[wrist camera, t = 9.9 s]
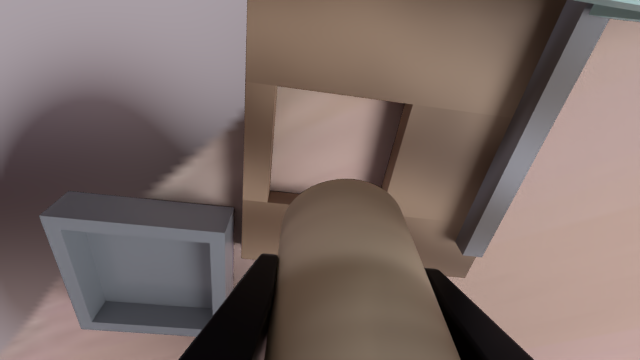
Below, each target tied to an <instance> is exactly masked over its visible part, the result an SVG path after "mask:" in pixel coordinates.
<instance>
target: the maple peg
mask: <svg viewBox="0 0 640 360" xmlns="http://www.w3.org/2000/svg"><path fill="white" fill-rule="evenodd" d="M264 360H461V359H460V357H459V354H458V352H457V349H456V347H455V344H454V342H453V339H452V337H451V334H450V332H449V329H448V327H447V324H446V322H445V319H444V317H443V314H442V312H441V309H440V307H439V304H438V302H437V299H436V297H435V294H434V292H433V289H432V286H431V284H430V281H429V279H428V276H427V274H426V271H425V269H424V266H423V264H422V261H421V259H420V256H419V254H418V251H417V249H416V246H415V244H414V241H413V239H412V236H411V234H410V231H409V229H408V226H407V224H406V221H405V219H404V216H403V214H402V211H401V209H400V207H399V205H398V203H397V202H396V200H395V199H394V198H393V197H392V196H391V195H390V194H389V193H388V192H386V191H385V190H383V189H382V188H380V187H378V186H376V185H374V184H372V183H369V182H365V181H361V180H355V179H336V180H330V181H326V182H323V183H319V184H317V185H315V186H312V187H310V188H309V189H307V190H305V191H304V192H302V193H301V194H300V195H298V196H297V197H296V198H295V199H294V200H293V201H292V203H291V204H290V205H289V206H288V208H287V210H286V212H285V214H284V217H283V220H282V225H281V233H280V240H279V248H278V263H277V271H276V279H275V287H274V295H273V303H272V309H271V315H270V321H269V327H268V334H267V342H266V350H265V357H264Z"/></svg>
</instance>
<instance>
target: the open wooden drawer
mask: <svg viewBox="0 0 640 360" xmlns="http://www.w3.org/2000/svg"><path fill="white" fill-rule="evenodd" d="M593 5H594V4H592V3H586V2H580V1H575V0H247V36H246V79H245V82H246V83H245V120H244V163H243V205H242V247H241V258H243V259H255V260H257V258H258V257H259V256H260V255H261V254H263V253H266V254H276V255H277V256H278V248H279V240H280V233H281V225H282V220H283V217H284V214H285V212H286V210H287V208H288V206H289V205H290V204H291V203H292V201H293V200H294V199H295V198H296V197H297V196H298V195H300V194H294V193H284V192H275V191H270V180H271V166H272V153H273V139H274V126H275V112H276V99H277V86H280V87H288V88H295V89H303V90H310V91H317V92H325V93H332V94H339V95H347V96H354V97H362V98H369V99H376V100H384V101H391V102H398V103H405V105H404V109H403V112H402V116H401V120H400V123H399V127H398V130H397V134H396V137H395V141H394V144H393V148H392V152H391V155H390V159H389V162H388V166H387V169H386V173H385V177H384V180H383V184H382V187H381V188H382V189H383V190H385V191H386V192H388V193H389V194H390V195H391V196H392V197H393V198H394V199H395V200H396V202H397V203H398V205H399V207H400V209H401V211H402V214H403V216H404V219H405V221H406V224H407V226H408V229H409V231H410V234H411V236H412V239H413V241H414V244H415V246H416V249H417V251H418V254H419V256H420V259H421V261H422V264H423V266H424V268H434V269H438V270H439V271H441V272H442V273H443V274H444V275H445V276H449V277H461V278H465V277H466V275H467V273H468V271H469V269H470V267H471V265H472V263H473V261H474V259H475V258H476V257H482V256H483V254H484V252H485V251H486V249H487V247H488V245H489V243H490V241H491V239H492V238H493V236H494V234H495V232H496V230H497V228H498V226H499V225H500V223H501V221H502V219H503V217H504V215H505V213H506V211H507V210H508V208H509V206H510V204H511V202H512V200H513V198H514V197H515V195H516V193H517V191H518V189H519V187H520V185H521V183H522V182H523V180H524V178H525V176H526V174H527V172H528V170H529V169H530V167H531V165H532V163H533V161H534V159H535V157H536V155H537V154H538V152H539V150H540V148H541V146H542V144H543V142H544V141H545V139H546V137H547V135H548V133H549V131H550V129H551V127H552V126H553V124H554V122H555V120H556V118H557V116H558V114H559V113H560V111H561V109H562V107H563V105H564V103H565V101H566V100H567V98H568V96H569V94H570V92H571V90H572V88H573V86H574V85H575V83H576V81H577V79H578V77H579V75H580V73H581V72H582V70H583V68H584V66H585V64H586V62H587V60H588V58H589V57H590V55H591V53H592V51H593V49H594V47H595V45H596V44H597V42H598V40H599V38H600V36H601V34H602V32H603V30H604V29H605V27H606V25H607V23H608V21H609V19H610V18H605V17H599V16H593V15H589V13H590V11H591V9H592V7H593Z"/></svg>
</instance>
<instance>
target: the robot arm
mask: <svg viewBox="0 0 640 360" xmlns="http://www.w3.org/2000/svg"><path fill="white" fill-rule="evenodd" d="M277 263H278V256H277V255H276V254H266V253H263V254H261V255H260V256H259V257H258V258H257V260H256V261H255V262H254V263H253V265H252V266H251V267H250V269H249V270H248V271H247V272H246V274H245V275H244V276H243V278H242V279H241V280H240V281H239V283H238V284H237V285H236V287H235V288H234V289H233V290H232V292H231V293H230V294H229V296H228V297H227V298H226V299H225V301H224V302H223V303H222V305H221V306H220V307H219V308H218V310H217V311H216V312H215V314H214V315H213V316H212V317H211V319H210V320H209V321H208V323H207V324H206V325H205V326H204V328H203V329H202V330H201V331H200V333H199V334H198V335H197V337H196V338H195V339H194V340H193V342H192V343H191V344H190V346H189V347H188V348H187V349H186V351H185V352H184V353H183V355H182V356H181V357H180V358H179V360H264V357H265V350H266V342H267V334H268V327H269V321H270V315H271V309H272V303H273V295H274V287H275V279H276V271H277ZM424 269H425V271H426V274H427V276H428V279H429V281H430V284H431V286H432V289H433V292H434V294H435V297H436V299H437V302H438V304H439V307H440V309H441V312H442V314H443V317H444V319H445V322H446V324H447V327H448V329H449V332H450V334H451V337H452V339H453V342H454V344H455V347H456V349H457V352H458V354H459V357H460V359H461V360H534V359H533V358H532V357H531V356H529V355H528V354H527V353H526V352H525V351H524V350H523V349H522V348H521V347H520V346H519V345H518V344H517V343H516V342H515V341H514V340H513V339H512V338H510V337H509V336H508V335H507V334H506V333H505V332H504V331H503V330H502V329H501V328H500V327H499V326H498V325H497V324H496V323H495V322H494V321H493V320H491V319H490V318H489V317H488V316H487V315H486V314H485V313H484V312H483V311H482V310H481V309H480V308H479V307H478V306H477V305H476V304H475V303H473V302H472V301H471V300H470V299H469V298H468V297H467V296H466V295H465V294H464V293H463V292H462V291H461V290H460V289H459V288H458V287H457V286H456V285H454V284H453V283H452V282H451V281H450V280H449V279H448V278H447V277H446V276H445V275H444V274H443V273H442V272H441V271H439V270H438V269H434V268H424Z"/></svg>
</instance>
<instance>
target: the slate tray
mask: <svg viewBox="0 0 640 360" xmlns="http://www.w3.org/2000/svg"><path fill="white" fill-rule="evenodd" d="M39 217H40V220H41V222H42V225H43V227H44V230H45V233H46V236H47V238H48V241H49V244H50V246H51V249H52V252H53V254H54V257H55V260H56V262H57V265H58V268H59V270H60V273H61V276H62V278H63V281H64V284H65V287H66V289H67V292H68V295H69V297H70V300H71V303H72V305H73V308H74V311H75V313H76V316H77V319H78V321H79V324H80V327H81V329H88V330H103V331H118V332H134V333H149V334H164V335H180V336H195V337H197V335H198V334H199V333H200V331H201V330H202V329H203V328H204V326H205V325H206V324H207V323H208V321H209V320H210V319H211V317H212V316H213V315H214V314H215V312H216V311H217V310H218V308H219V307H220V306H221V305H222V303H223V302H224V301H225V299H226V298H227V297H228V296H229V294H230V293H231V292H232V290H233V265H234V208H232V207H222V206H212V205H203V204H193V203H183V202H173V201H163V200H153V199H143V198H132V197H123V196H113V195H103V194H93V193H84V192H74V191H68V192H67V193H66V194H64V195H63V196H62V197H61V198H60V199H59V200H57V201H56V202H55V203H54V204H52V205H51V206H50V207H49V208H48V209H46V210H45V211H44V212H43V213H42V214H41V215H39Z"/></svg>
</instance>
